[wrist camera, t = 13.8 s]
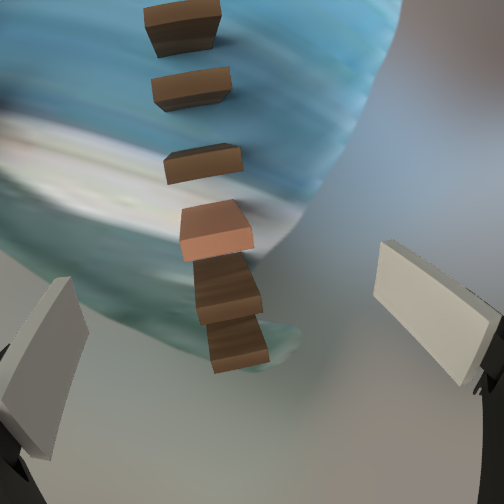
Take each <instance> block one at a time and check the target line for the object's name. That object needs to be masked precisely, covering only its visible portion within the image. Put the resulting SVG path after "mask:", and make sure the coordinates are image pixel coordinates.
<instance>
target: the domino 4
mask: <svg viewBox="0 0 504 504" xmlns="http://www.w3.org/2000/svg"><path fill="white" fill-rule="evenodd" d="M179 241H180V245H181V250H182V254H183V258H184V262H187V261H192V260H197V259H202V258H207V257H212V256H217V255H222V254H227V253H232V252H237V251H242V250H247V249H252V248H254V242H253V235H252V228H251V225H250V224H249V222H248V221H247V219H246V218H245V216H244V215H243V213H242V212H241V210H240V209H239V207H238V206H237V204H236V203H235V201H234V200H233V199H232V200H226V201H221V202H216V203H210V204H205V205H200V206H195V207H190V208H185V209H182V215H181V227H180V240H179Z"/></svg>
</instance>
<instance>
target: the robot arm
mask: <svg viewBox="0 0 504 504" xmlns="http://www.w3.org/2000/svg"><path fill="white" fill-rule="evenodd" d="M373 296H374V297H375V298H376V299H377V300H378V301H379V302H380V303H381V304H382V305H383V306H384V307H385V308H386V309H387V310H388V311H389V312H390V313H392V315H393V316H394V317H395V318H396V319H397V320H398V321H399V322H400V323H401V324H402V325H403V326H404V327H405V328H406V329H407V330H408V331H409V332H410V333H411V334H412V335H413V336H414V337H415V339H417V341H418V342H419V343H420V344H421V345H422V346H423V347H424V348H425V349H426V350H427V351H428V352H429V353H430V354H431V356H432V357H433V358H434V359H435V360H436V361H437V362H438V363H439V364H440V365H441V366H442V367H443V368H444V370H445V371H446V372H447V373H448V374H449V375H450V376H451V377H452V378H453V380H454V381H455V382H456V383H457V384H458V385H459V386H462V385H464V384H465V383H467V382H469V381H471V380H472V379H473V378H474V377H475V375H476V373H477V371H478V368H479V367H481V368H482V369H483V370H484V372H483V374H482V376H481V378H480V380H479V382H478V383H477V385H476V387H475V389H474V391H473V394H474V395H475V394H476V393H477V391H478V389H479V388H480V387H482V390H481V392H480V393H479V395H482V404H483V448H482V465H481V466H482V467H481V477H480V487H479V495H478V502H477V504H504V316H503V315H502V314H500V313H499V312H498V311H497V310H495V309H494V308H493V307H491V306H490V305H489V304H487V303H486V302H485V301H483V300H482V299H481V298H479V297H478V296H476V295H475V294H474V293H473V292H471V291H470V290H468V289H467V288H465V287H463V286H462V285H461V284H459V283H458V282H456V281H455V280H454V279H452V278H451V277H449V276H448V275H446V274H445V273H444V272H442V271H441V270H439V269H438V268H436V267H435V266H433V265H432V264H430V263H429V262H427V261H426V260H424V259H423V258H421V257H420V256H418V255H417V254H415V253H414V252H412V251H411V250H409V249H408V248H406V247H405V246H403V245H401V244H400V243H398V242H397V241H395V240H389V241H381V244H380V252H379V260H378V267H377V274H376V281H375V287H374V293H373ZM88 335H89V331H88V328H87V325H86V323H85V320H84V317H83V314H82V311H81V308H80V305H79V302H78V299H77V296H76V293H75V290H74V286H73V283H72V280H71V277H63V278H55V279H54V281H53V282H52V283H51V285H50V286H49V287H48V289H47V290H46V292H45V293H44V294H43V296H42V297H41V299H40V300H39V302H38V303H37V304H36V306H35V307H34V309H33V310H32V312H31V313H30V315H29V316H28V318H27V319H26V321H25V322H24V324H23V325H22V327H21V329H20V330H19V332H18V333H17V335H16V336H15V338H14V340H13V341H12V343H11V344H8V345H7V346H6V347H5V348H4V349H3V350H2V351H1V352H0V504H47V503H46V501H45V500H44V498H43V496H42V494H41V492H40V491H39V489H38V487H37V485H36V483H35V481H34V480H33V477H32V476H31V474H30V472H29V469H28V467H27V465H26V463H25V461H24V460H23V459H22V457H21V456H20V455H19V454H20V450H21V447H22V448H23V449H24V450H25V451H26V452H27V453H28V454H29V455H30V456H31V457H32V458H37V459H43V460H49V461H51V457H52V453H53V448H54V444H55V440H56V436H57V432H58V428H59V424H60V420H61V417H62V413H63V410H64V406H65V403H66V400H67V396H68V393H69V390H70V387H71V383H72V380H73V377H74V374H75V371H76V368H77V365H78V362H79V359H80V357H81V354H82V351H83V348H84V345H85V343H86V340H87V337H88Z"/></svg>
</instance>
